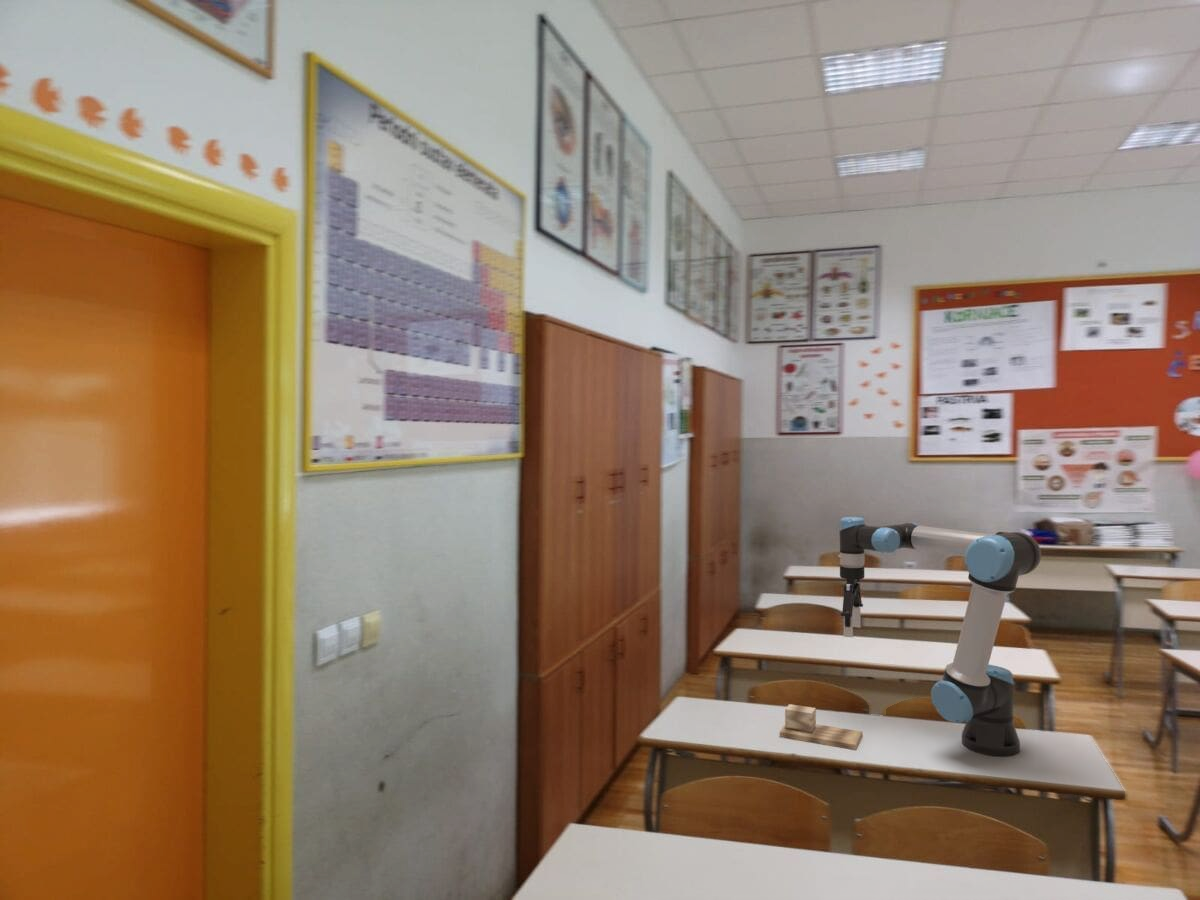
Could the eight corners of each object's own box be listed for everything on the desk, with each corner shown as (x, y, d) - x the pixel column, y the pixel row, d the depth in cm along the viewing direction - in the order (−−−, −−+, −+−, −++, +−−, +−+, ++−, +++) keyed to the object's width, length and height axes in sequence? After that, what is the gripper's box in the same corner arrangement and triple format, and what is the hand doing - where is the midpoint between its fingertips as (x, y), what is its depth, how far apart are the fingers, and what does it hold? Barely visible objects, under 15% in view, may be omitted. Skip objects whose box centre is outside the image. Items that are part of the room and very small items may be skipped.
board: (862, 736, 237) (862, 731, 237) (855, 750, 227) (855, 744, 227) (789, 724, 247) (789, 719, 247) (779, 736, 238) (779, 731, 238)
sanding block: (815, 727, 240) (815, 708, 240) (811, 733, 236) (811, 713, 236) (789, 723, 244) (789, 704, 244) (785, 729, 240) (785, 709, 240)
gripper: (847, 559, 267) (847, 621, 267) (832, 571, 245) (832, 639, 245) (870, 560, 263) (870, 624, 264) (857, 573, 241) (857, 642, 242)
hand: (852, 631), depth 255 cm, fingers open, 13 cm apart
